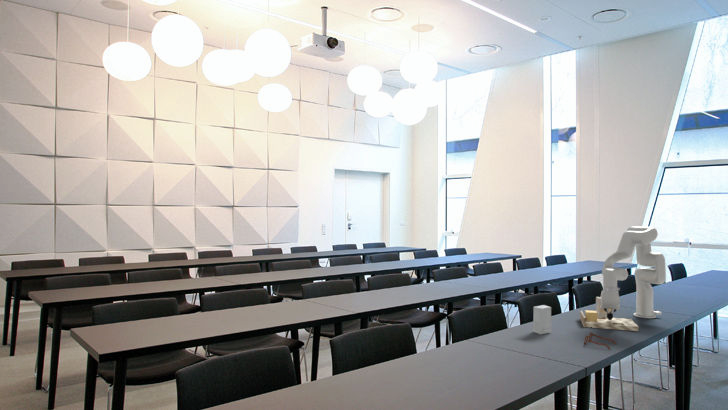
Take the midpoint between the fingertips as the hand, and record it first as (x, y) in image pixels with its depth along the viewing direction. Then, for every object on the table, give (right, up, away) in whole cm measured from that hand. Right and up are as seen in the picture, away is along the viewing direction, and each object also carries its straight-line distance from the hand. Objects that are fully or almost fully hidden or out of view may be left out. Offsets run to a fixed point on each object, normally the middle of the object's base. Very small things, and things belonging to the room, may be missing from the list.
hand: (609, 319), depth 293 cm
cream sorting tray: (-1, -3, 0) cm, 3 cm away
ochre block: (-10, -1, +3) cm, 10 cm away
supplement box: (+6, -4, +19) cm, 20 cm away
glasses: (-26, -4, -41) cm, 48 cm away
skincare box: (-48, -3, -18) cm, 51 cm away
